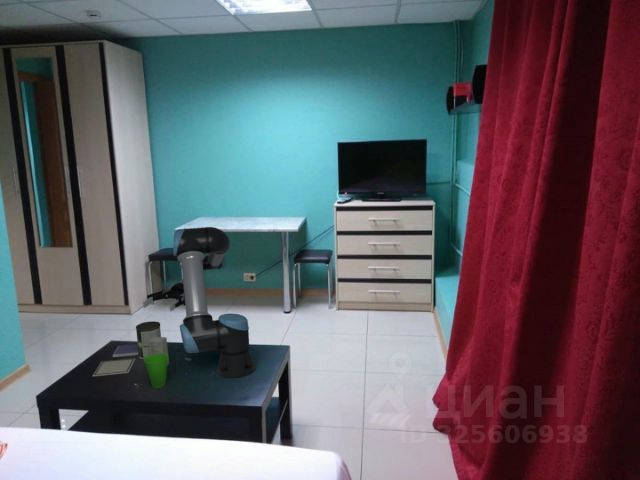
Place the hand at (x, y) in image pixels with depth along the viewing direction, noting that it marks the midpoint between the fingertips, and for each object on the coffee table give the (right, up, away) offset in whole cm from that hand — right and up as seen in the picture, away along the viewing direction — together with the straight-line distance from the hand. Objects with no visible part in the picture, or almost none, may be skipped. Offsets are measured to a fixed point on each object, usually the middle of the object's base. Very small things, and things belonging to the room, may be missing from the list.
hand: (157, 306), depth 211 cm
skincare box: (+6, -23, -14) cm, 28 cm away
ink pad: (-14, -21, +2) cm, 25 cm away
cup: (+12, -26, -31) cm, 42 cm away
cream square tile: (-13, -24, -14) cm, 31 cm away
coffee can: (-2, -22, -2) cm, 22 cm away
